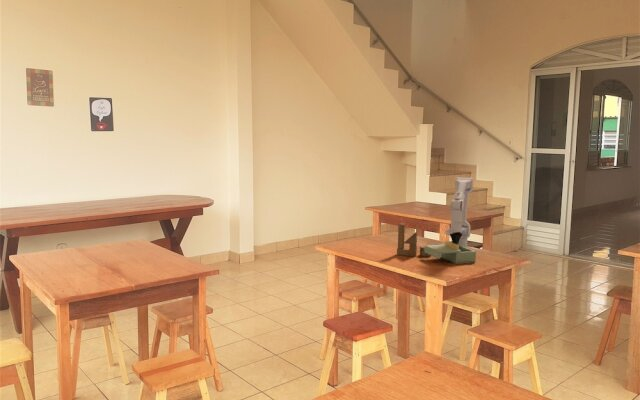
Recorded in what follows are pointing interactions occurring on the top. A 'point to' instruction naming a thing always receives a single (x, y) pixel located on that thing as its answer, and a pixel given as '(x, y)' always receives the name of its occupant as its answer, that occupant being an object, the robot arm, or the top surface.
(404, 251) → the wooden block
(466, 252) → the toolbox
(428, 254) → the small brown cube
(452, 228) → the robot arm
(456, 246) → the lid
